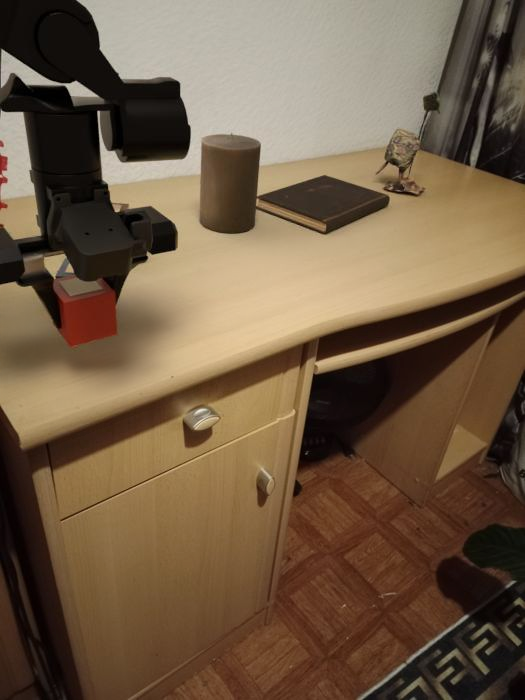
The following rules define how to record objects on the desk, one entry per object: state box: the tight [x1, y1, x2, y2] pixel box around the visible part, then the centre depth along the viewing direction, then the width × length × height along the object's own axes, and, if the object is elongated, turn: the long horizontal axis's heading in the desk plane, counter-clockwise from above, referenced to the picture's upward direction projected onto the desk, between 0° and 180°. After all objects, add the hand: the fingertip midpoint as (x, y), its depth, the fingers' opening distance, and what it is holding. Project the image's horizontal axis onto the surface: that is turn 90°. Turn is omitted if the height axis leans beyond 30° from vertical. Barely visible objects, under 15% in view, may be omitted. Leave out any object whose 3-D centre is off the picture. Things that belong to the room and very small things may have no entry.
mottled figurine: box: [374, 91, 441, 195], centre depth 114 cm, size 8×11×20 cm
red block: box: [51, 275, 119, 348], centre depth 54 cm, size 5×5×5 cm
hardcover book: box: [256, 174, 391, 235], centre depth 105 cm, size 16×23×2 cm
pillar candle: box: [199, 132, 262, 234], centre depth 90 cm, size 10×10×15 cm
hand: (83, 320), depth 55 cm, fingers closed on red block, 5 cm apart
